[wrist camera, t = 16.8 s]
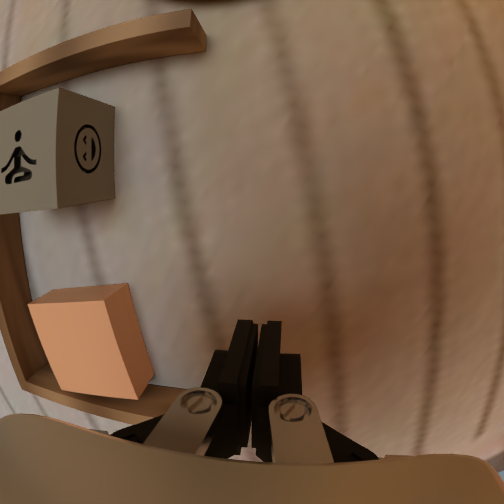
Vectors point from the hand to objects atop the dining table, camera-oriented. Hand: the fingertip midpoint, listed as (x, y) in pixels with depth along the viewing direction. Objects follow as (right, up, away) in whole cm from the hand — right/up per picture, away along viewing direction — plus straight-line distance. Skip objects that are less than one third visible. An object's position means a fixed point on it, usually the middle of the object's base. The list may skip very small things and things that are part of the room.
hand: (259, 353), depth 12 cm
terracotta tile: (-10, -1, +6) cm, 11 cm away
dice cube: (-10, +9, +3) cm, 14 cm away
